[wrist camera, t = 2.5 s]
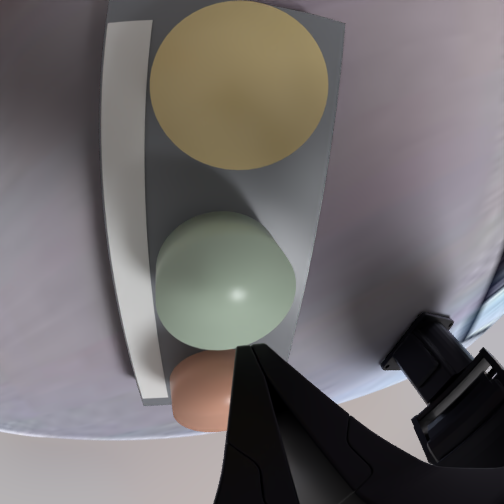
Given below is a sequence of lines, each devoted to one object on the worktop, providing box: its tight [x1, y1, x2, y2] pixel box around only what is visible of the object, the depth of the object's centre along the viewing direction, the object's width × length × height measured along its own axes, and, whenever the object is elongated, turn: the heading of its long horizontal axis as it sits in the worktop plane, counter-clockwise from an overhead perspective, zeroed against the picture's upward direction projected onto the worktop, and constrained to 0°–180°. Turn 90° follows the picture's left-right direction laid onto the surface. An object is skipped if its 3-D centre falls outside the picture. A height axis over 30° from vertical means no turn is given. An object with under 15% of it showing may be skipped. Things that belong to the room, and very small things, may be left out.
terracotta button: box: [170, 349, 236, 432], centre depth 15 cm, size 5×5×2 cm
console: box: [99, 0, 345, 406], centre depth 14 cm, size 9×21×2 cm, turn 175°
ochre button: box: [150, 1, 328, 170], centre depth 8 cm, size 5×5×2 cm
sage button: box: [156, 211, 296, 350], centre depth 11 cm, size 5×5×2 cm
